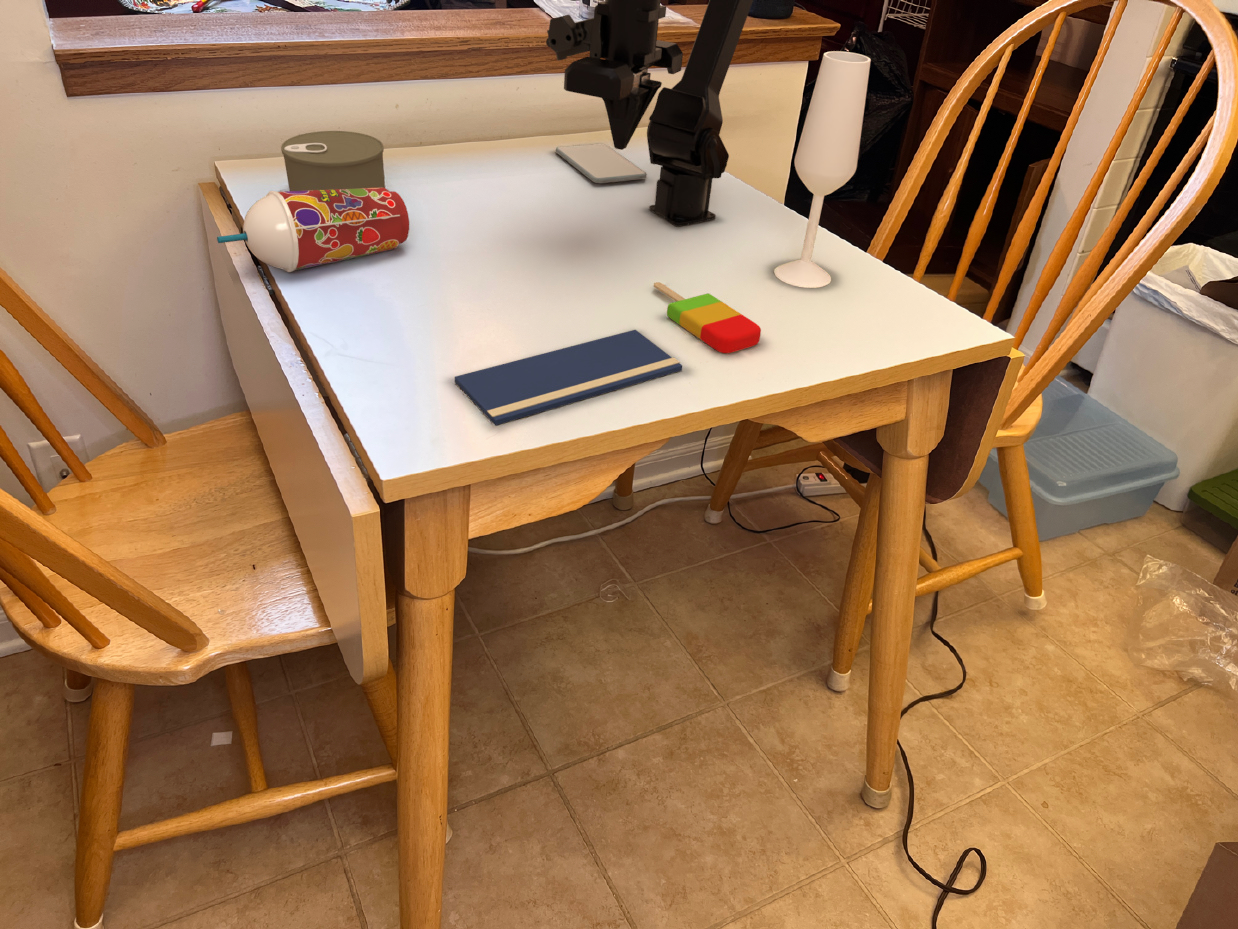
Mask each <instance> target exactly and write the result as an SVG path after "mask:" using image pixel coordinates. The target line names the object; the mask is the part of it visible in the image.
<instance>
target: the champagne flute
mask: <svg viewBox="0 0 1238 929" xmlns="http://www.w3.org/2000/svg"><path fill="white" fill-rule="evenodd" d="M871 62H872V61H871V58H870V57H869V56H867V55H864V54H860V53H856V52H849V51H841V50H840V51H839V50H836V51H835V50H833V51H832V50H831V51H827V52H824V53H823V55H822V60H821V63H820V66H819V69H818V74H817V77H816V81H815V85H814V88H813V92H812V95H811V99H810V103H809V106H808V110H807V113H806V117H805V120H804V123H803V128H802V131H801V135H800V138H799V142H798V146H797V149H796V153H795V156H794V160H793V161H794V167H795V168H794V169H795V171H796V174H797V176H798V178H799V179H800V181H801V182H802V183H803V184H804V186H805V187H806V188H807V190H808V191H809V192H810V193H812V194H813V196H812V201H811V206H810V211H809V215H808V222H807V225H806V231H805V236H804V240H803V246H802V251H801V256H800V258H799V259H798V258H797V259H796V260H792V261H789V262H786V263H783V264H779V265H778V266H777V267H776V268H774V270H773V272H774V276H775V277H776V278H777V279H778V280H780V281H781V282H783V283H785V284H787V285H790V286H794V287H799V288H805V289H815V288H816V289H817V288H822V287H826V286H828V285H829V284H830V283H831V282H832V277H831V275H830V274H829V273H828V272H827V271H826V270H824V269H823V268H822V267H820V266H819V265H818V264H816V263H815V262H814V261H812V257H813V253H814V248H815V242H816V239H817V238H816V237H817V232H818V228H819V224H820V218H821V213H822V208H823V204H824V199H825V196H827V195H830V194H832V193H834V192H835V191H837V190H838V189H840V188H841V187H843V186H845V185H846V183H847V182H849V181H850V180H851V178H852V177H853V176H854V175H855V174H856V171H857V168H858V160H859V152H860V145H861V136H862V130H863V122H864V113H865V107H866V99H867V92H868V84H869V76H870V70H871V69H870V68H871Z"/></svg>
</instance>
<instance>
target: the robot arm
mask: <svg viewBox="0 0 1238 929" xmlns="http://www.w3.org/2000/svg"><path fill="white" fill-rule="evenodd" d="M570 1H572V2H577V1H578V2H579V0H570ZM661 1H662V0H603V1H600V2H597V4H596V5H595V7H594V10H593V11H594V13H593V17H591V18H587V19H583V20H580V21H575V20H574V19H573V18H572V16H571V15H570V14H566V15H561V16H557V17H553V18H550V19H549V25H548V29H547V30H546V32H547V38H546V40H545V44H546V46H547V47H548V48H550V49H551V50H552V51H553V52H554V54H555V57H556V61H563V60H566V59H568V57H572V56H576V55H580V54H583V53H588V52H589V55H588V56H585V57H582V58H579V59H576V60H573V61H572V62H571V63H570V64H569V65H568V66H567V67H566V68H565V69H564V76H563V78H564V79H563V90H564V91H566V92H570V93H575V94H580V95H585V96H590V97H594V98H598V99H599V98H600V99H601V100H602V101H603V103H604V107H605V110H606V114H607V119H608V124H609V128H610V133H611V138H612V144H613V147H614V148H615V149H616V150H620V151H623V150H624V149H626V148H627V146H628V145H629V143H630V141H631V139H632V137H633V135H634V133H635V132H636V130H637V128H638V126H639V124H640V123H641V121H642V119H643V117H644V115H645V114H646V111H647V109H648V108H649V107H650V104H651V103H652V101H653V99H654V97H655V96H656V94H657V92H658V90H659V89H660V88H661V87H662V85H663V83H662V81H660V80H654V79H651V76H652V74H651V72H649V68H651V67H656V68H665V69H666V70H667V74H669V75H675V74H677V73H679V72H681V71H682V66H683V58H684V52H683V51H682V49H681V47H680V46H679V45H678V43H676V42H671V41H665V40H660V39H658V33H659V32H658V31H659V20H660V19H661V20H662V19H663V18H666V16H667V6H666V5H661ZM753 2H754V0H708V3H707V6H706V9H705V12H704V14H703V17H702V20H701V23H700V26H699V29H698V31H697V33H696V36H695V40H694V42H693V46H692V48H691V51H690V54H689V57H688V60H687V62H686V66H685V68H684V71H683V74H682V76H681V79H680V80H678V82H677V83H676V84H674V86H672V88H670V87H665V86H663V88H662V89H660V91H659V92H658V95H657V98H656V103H655V106H654V108H653V111H652V112H651V114H650V116H649V117H648V120H649V122H648V124H647V129H646V139H647V148H648V154H649V163H650V164H651V165H656V166H660V169H659V179H657V181H656V186H655V199H654V204H652V205H651V204H650V205H649V206H648V207H649V208H648V210H649V211H651V212H652V213H653V214H656V215H657V216H659V217H661V218H662V219H664V220H665V221H667V222H669V223H670V224H672V225H674V226H675V227H682V226H687V225H693V224H698V223H703V222H706V221H707V222H708V221H711V220H716V217H717V215H716V214H715V213H714V212H711V211H710V209H709V208H710V202H711V201H710V200H711V194H712V186H713V179H721V178H722V174H723V173H725V171H726V168H727V166H728V162H729V158H730V154H729V152H728V150H727V148H726V146H725V144H724V142H723V140H722V138H721V136H720V134H721V130H722V126H723V123H724V121H723V114H722V113H723V112H722V107H721V102H720V94H721V91H722V88H723V84H724V82H725V79H726V77H727V74H728V71H729V68H730V65H731V63H732V60H733V57H734V55H735V51H736V49H737V46H738V44H739V40H740V37H741V35H742V32H743V30H744V26H745V23H746V21H747V18H748V16H749V13H750V10H751V8H752V5H753Z"/></svg>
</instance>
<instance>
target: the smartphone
mask: <svg viewBox="0 0 1238 929" xmlns="http://www.w3.org/2000/svg"><path fill="white" fill-rule="evenodd" d="M555 153H556V154H557V155H559V156H560V157H561V158H562V159H564V160H565V161H566V162H568V163H569V164H570V165H572V167H574V168H575V169H576V170H578V171H579V172H580V173H581V174H582V175H584V176H585V177H587V178H588V179H589V180H590V181H592V182H593V183H595V184H607V183H615V182H629V181H636V180H637V181H638V180H644V179H647V176H648V173H647V172H646V171H644V170H643V169H642V168H641V167H639V166H637V165H636V164H635V163H633V162H632V161H630V160H629V159H627V158H626V157H624V156H623V155H622V154H620V153H619V152H617V151H616V150H614V148H612V147H610V146H609V145H608V144H606V143H603V142H602V143H601V142H599V143H587V144H586V143H585V144H574V145H573V144H572V145H562V146H561V145H559V146H557V147H555Z"/></svg>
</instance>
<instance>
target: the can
mask: <svg viewBox="0 0 1238 929" xmlns="http://www.w3.org/2000/svg"><path fill="white" fill-rule="evenodd" d="M280 150H281V154H282V155H283V159H284V166H285V172H286V178H287V179H286V180H287V184H288V191H307V190H333V189H359V188H386V180H385V170H384V169H385V167H384V150H385V148H384V144H383V143H382V141H381V140H380V139H378V138H376V137H374V136H371V135H368V134H365V133H360V132H355V131H347V130H322V131H311V132H306V133H301V134H298V135H295V136H292V137H290V138H288V139H286V140H285V141H284V142H282V143H281V147H280Z"/></svg>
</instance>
